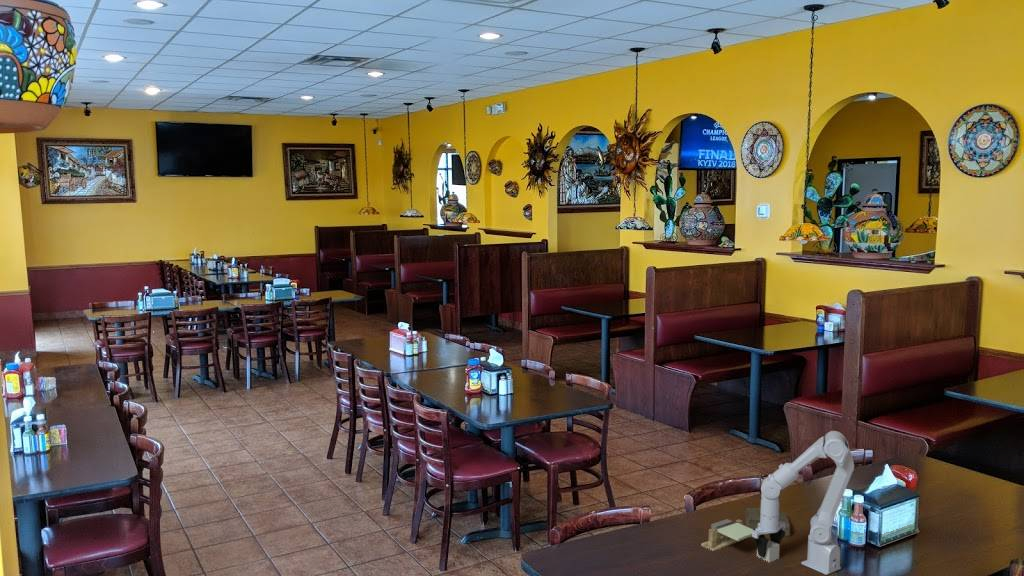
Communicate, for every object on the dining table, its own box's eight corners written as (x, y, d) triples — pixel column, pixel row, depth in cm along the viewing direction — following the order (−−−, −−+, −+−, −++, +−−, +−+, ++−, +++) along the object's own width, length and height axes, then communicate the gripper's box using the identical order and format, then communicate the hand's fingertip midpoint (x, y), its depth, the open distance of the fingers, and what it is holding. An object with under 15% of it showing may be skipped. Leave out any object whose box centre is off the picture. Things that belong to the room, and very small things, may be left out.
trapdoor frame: (742, 540, 276) (743, 521, 275) (712, 551, 267) (713, 531, 266) (731, 535, 280) (731, 516, 279) (701, 545, 271) (701, 526, 271)
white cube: (778, 558, 262) (779, 544, 261) (769, 562, 259) (769, 548, 259) (766, 553, 266) (767, 539, 265) (756, 557, 263) (757, 542, 263)
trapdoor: (757, 534, 267) (758, 530, 266) (737, 541, 261) (738, 537, 261) (728, 522, 277) (729, 518, 277) (709, 528, 271) (709, 524, 271)
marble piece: (790, 537, 279) (791, 526, 278) (747, 533, 282) (747, 522, 281) (785, 519, 295) (786, 508, 294) (744, 515, 298) (744, 504, 298)
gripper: (773, 505, 268) (772, 543, 270) (745, 515, 260) (743, 554, 262) (791, 512, 262) (789, 551, 264) (762, 522, 254) (761, 562, 256)
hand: (767, 553), depth 262 cm, fingers open, 6 cm apart
